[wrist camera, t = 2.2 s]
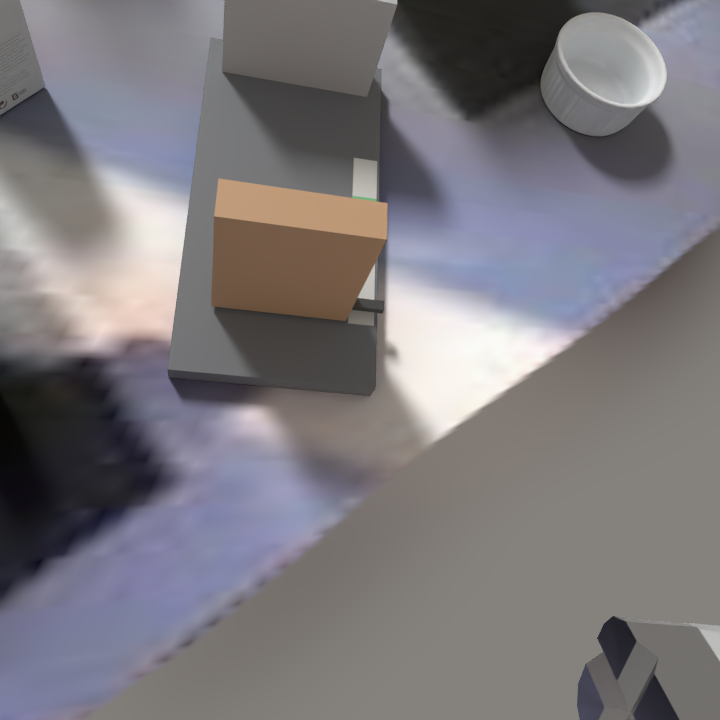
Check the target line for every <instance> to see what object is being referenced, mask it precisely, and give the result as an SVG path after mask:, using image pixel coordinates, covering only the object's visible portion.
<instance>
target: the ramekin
mask: <svg viewBox="0 0 720 720" xmlns="http://www.w3.org/2000/svg"><path fill="white" fill-rule="evenodd" d="M666 81H667V70H666V66H665V63H664V60H663V58H662V55H661V53H660V51H659V50H658V48H657V47H656V45H655V44H654V43H653V41H652V40H651V39H650V38H649V37H648V36H647V35H646V34H645V33H643V32H642V31H641V30H640V29H639V28H637V27H636V26H634V25H633V24H631V23H630V22H628V21H626V20H624V19H622V18H619V17H617V16H614V15H610V14H606V13H597V12H594V13H593V12H592V13H585V14H581V15H578V16H576V17H574V18H572V19H570V20H569V21H568V22H567V23H565V25H564V26H563V27H562V29H561V30H560V32H559V34H558V37H557V40H556V44H555V47H554V49H553V51H552V53H551V55H550V57H549V59H548V61H547V63H546V65H545V68H544V70H543V73H542V76H541V82H540V88H541V93H542V97H543V99H544V101H545V103H546V105H547V107H548V108H549V110H550V111H551V113H552V114H553V115H554V116H555V117H556V118H557V119H558V120H559V121H560V122H561V123H563V124H564V125H565V126H567V127H569V128H570V129H572V130H574V131H576V132H579V133H582V134H585V135H590V136H608V135H611V134H613V133H615V132H618V131H619V130H621V129H622V128H624V127H626V126H627V125H628V124H629V123H630V122H631V121H632V120H633V119H634V118H635V117H637V116H638V115H639V114H640V113H641V112H642V111H643V110H644V109H645V108H646V107H648V106H649V105H651V104H652V103H653V102H655V101H656V100H657V99H658V98H659V97H660V96H661V94H662V93H663V91H664V89H665V86H666Z"/></svg>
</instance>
